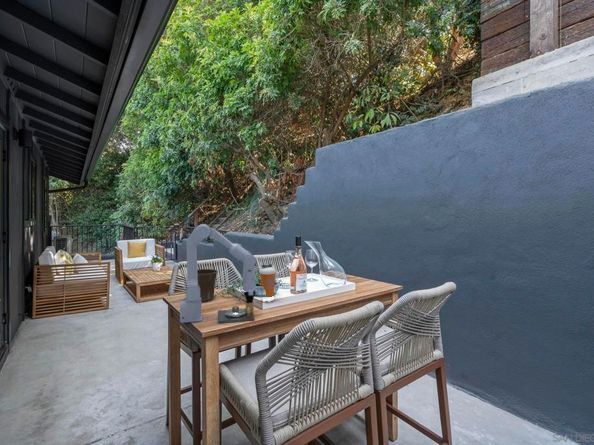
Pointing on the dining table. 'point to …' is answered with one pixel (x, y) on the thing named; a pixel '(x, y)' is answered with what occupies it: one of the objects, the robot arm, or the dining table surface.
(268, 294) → the glass of beer
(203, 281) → the plant pot
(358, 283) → the dining table surface
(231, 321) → the base plate
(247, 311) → the dowel
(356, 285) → the dining table surface
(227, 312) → the flange
